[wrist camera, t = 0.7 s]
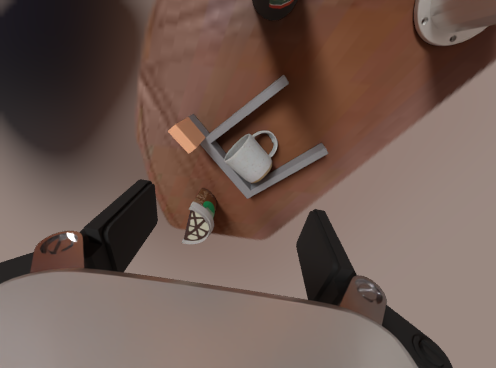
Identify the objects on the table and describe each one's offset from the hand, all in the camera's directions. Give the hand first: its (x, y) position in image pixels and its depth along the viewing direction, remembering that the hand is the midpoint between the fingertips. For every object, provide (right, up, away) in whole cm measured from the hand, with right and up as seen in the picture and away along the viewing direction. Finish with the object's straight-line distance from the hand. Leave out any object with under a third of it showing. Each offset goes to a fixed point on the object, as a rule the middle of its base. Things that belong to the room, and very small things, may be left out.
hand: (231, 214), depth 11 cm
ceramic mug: (+2, +10, +31) cm, 33 cm away
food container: (-9, -4, +40) cm, 42 cm away
